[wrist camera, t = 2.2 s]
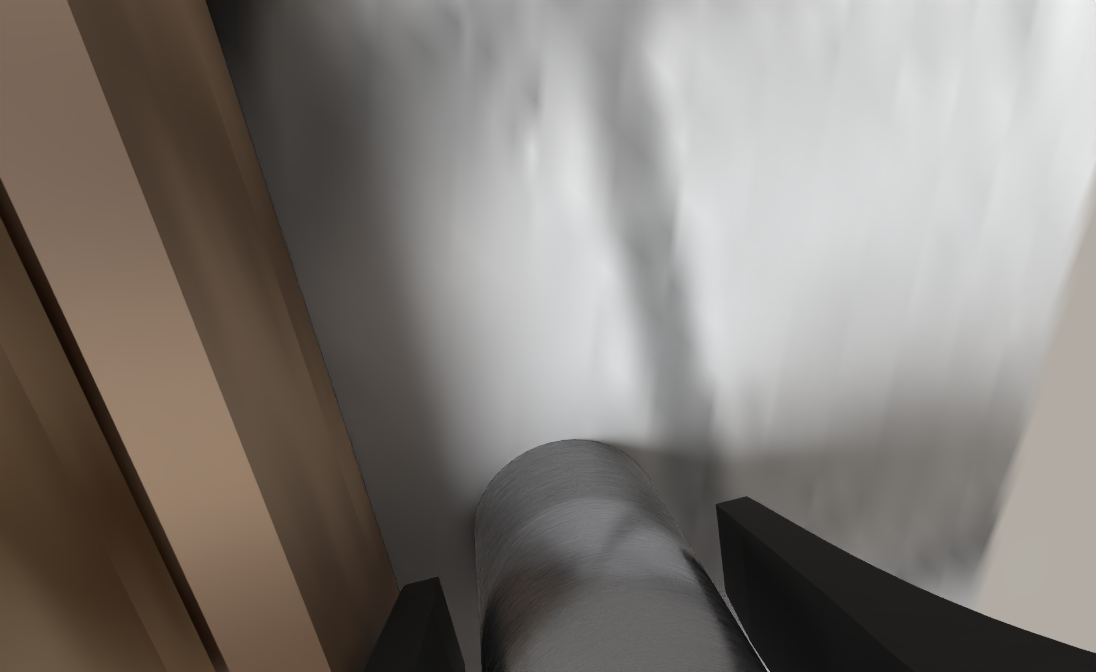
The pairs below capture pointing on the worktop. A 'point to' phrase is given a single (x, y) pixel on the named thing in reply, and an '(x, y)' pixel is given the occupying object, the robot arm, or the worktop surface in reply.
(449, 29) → the worktop surface
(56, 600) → the crate
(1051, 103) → the worktop surface
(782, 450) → the worktop surface
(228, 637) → the bay
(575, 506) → the peg
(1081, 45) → the worktop surface
